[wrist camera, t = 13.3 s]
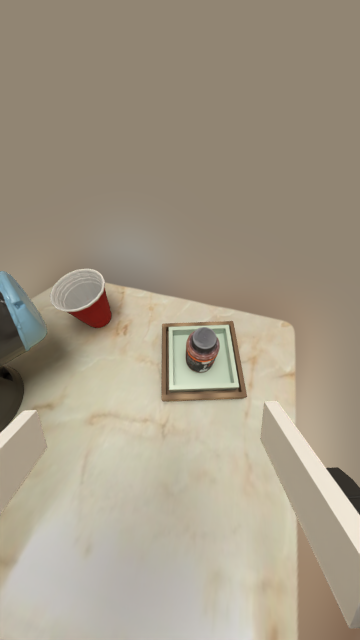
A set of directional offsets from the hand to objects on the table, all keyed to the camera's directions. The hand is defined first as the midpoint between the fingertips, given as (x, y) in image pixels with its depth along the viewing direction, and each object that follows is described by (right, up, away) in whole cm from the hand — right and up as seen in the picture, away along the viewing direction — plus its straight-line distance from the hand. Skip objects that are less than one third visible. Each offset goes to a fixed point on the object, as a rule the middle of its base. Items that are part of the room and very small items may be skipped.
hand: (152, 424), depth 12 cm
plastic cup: (-18, +7, +38) cm, 43 cm away
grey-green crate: (+6, -3, +31) cm, 32 cm away
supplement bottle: (+6, -2, +31) cm, 31 cm away
